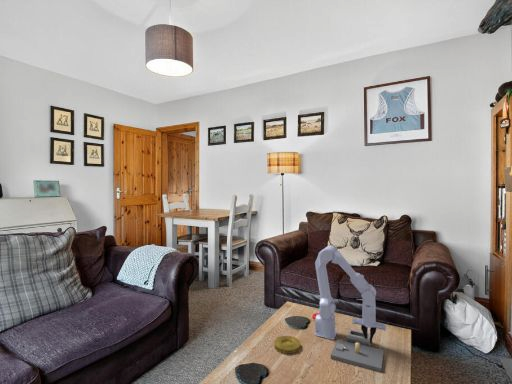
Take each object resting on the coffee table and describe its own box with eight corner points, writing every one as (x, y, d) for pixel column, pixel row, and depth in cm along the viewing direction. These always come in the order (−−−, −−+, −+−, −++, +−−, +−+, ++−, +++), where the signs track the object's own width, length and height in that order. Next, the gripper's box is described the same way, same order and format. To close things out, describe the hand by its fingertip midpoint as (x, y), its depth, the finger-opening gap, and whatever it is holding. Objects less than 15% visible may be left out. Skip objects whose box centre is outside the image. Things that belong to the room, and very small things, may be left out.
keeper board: (330, 358, 123) (330, 345, 123) (337, 342, 136) (337, 330, 136) (381, 372, 114) (381, 358, 114) (383, 353, 126) (383, 341, 126)
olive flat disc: (305, 351, 129) (305, 346, 129) (281, 357, 125) (281, 352, 125) (292, 338, 140) (292, 333, 140) (270, 343, 136) (270, 338, 136)
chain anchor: (335, 349, 127) (335, 347, 127) (337, 345, 131) (337, 342, 131) (347, 352, 125) (347, 350, 125) (349, 347, 128) (349, 345, 128)
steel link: (346, 342, 135) (346, 334, 135) (349, 336, 141) (349, 328, 140) (369, 348, 131) (369, 339, 130) (370, 342, 136) (370, 333, 136)
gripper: (351, 313, 133) (351, 342, 133) (385, 320, 126) (385, 350, 127) (353, 307, 139) (353, 335, 140) (386, 313, 132) (386, 342, 133)
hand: (368, 341), depth 133 cm, fingers closed on steel link
